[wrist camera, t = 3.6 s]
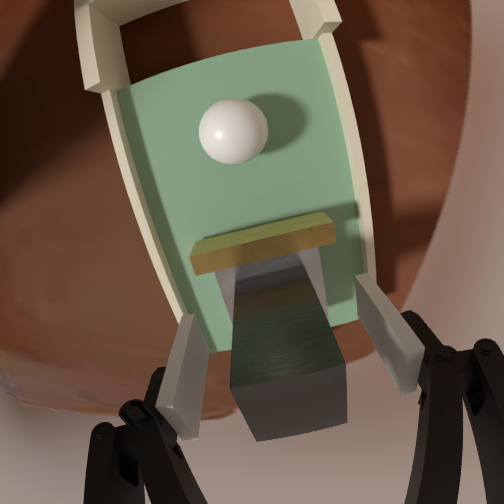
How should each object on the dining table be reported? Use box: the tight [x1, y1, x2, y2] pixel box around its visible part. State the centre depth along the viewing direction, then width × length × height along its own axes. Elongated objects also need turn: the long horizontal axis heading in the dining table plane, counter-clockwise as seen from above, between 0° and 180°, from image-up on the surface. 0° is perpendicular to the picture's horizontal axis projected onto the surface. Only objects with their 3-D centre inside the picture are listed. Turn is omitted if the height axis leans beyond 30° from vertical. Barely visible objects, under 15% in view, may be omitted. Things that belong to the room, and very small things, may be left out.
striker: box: [189, 211, 347, 442], centre depth 15 cm, size 8×11×10 cm
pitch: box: [74, 0, 376, 353], centre depth 16 cm, size 14×27×5 cm, turn 14°
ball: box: [199, 98, 268, 165], centre depth 14 cm, size 4×4×4 cm
